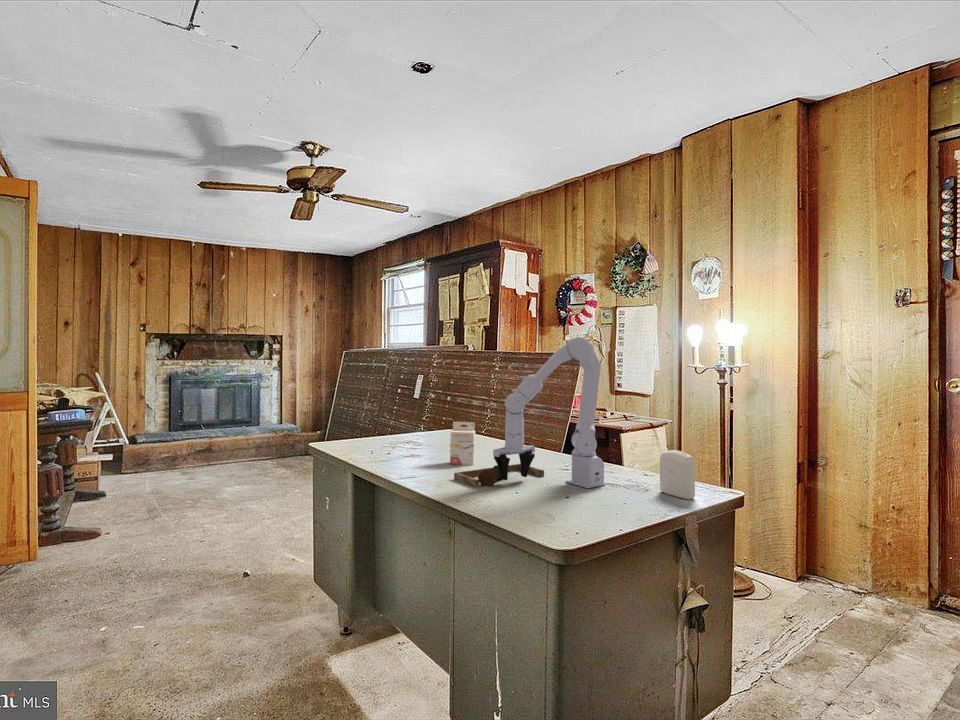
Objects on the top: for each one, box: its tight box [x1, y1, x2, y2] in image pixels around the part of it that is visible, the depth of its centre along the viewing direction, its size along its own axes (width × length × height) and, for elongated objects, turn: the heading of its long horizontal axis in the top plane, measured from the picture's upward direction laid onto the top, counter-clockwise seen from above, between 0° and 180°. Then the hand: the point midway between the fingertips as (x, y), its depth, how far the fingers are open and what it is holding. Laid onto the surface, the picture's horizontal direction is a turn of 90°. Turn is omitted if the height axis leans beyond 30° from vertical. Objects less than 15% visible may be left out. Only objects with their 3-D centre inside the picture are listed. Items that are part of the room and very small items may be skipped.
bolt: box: [477, 464, 504, 488], centre depth 164 cm, size 6×5×15 cm
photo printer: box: [659, 449, 696, 500], centre depth 148 cm, size 10×4×12 cm, turn 26°
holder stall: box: [453, 463, 545, 488], centre depth 168 cm, size 12×26×2 cm, turn 124°
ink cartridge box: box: [449, 421, 476, 466], centre depth 190 cm, size 9×5×15 cm, turn 84°
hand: (514, 477), depth 161 cm, fingers open, 7 cm apart
